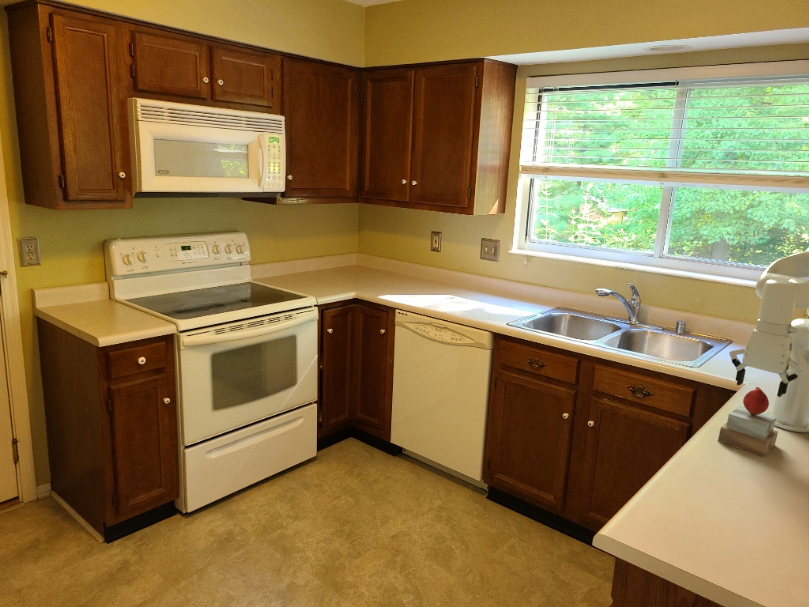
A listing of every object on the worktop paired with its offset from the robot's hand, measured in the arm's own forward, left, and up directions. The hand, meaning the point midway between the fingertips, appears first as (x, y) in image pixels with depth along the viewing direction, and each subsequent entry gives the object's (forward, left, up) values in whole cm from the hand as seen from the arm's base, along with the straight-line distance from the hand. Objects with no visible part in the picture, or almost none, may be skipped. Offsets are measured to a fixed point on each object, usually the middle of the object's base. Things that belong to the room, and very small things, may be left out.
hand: (759, 389), depth 160 cm
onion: (0, 0, -7) cm, 7 cm away
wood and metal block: (+1, 0, -15) cm, 15 cm away
